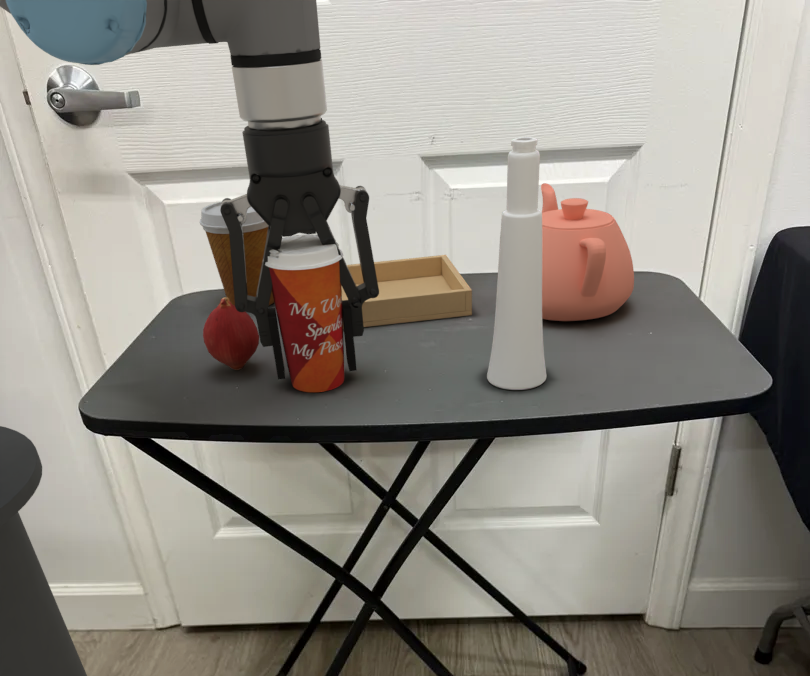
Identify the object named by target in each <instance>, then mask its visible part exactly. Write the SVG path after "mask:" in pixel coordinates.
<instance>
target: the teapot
mask: <svg viewBox="0 0 810 676" xmlns="http://www.w3.org/2000/svg"><path fill="white" fill-rule="evenodd" d="M540 191H541V195H542V208H541V209H542V210H541V211H542V320H545V321H546V320H548V321H557V322H558V321H559V322H575V321H577V322H578V321H587V320H593V319H599V318H604V317H607V316H609V315H612V314H614V313H615V312H616V311H618V310H619V309H620V308H621V307H622V306H623V305H624V304H625V303H626V302H627V300H629V298H630V297H631V296H632V294H633V291H634V287H635V271H634V264H633V258H632V254H631V251H630V248H629V245H628V242H627V241H626V240H627V239H625V236H624V234H623V232H622V230H621V227H620V225H619V224H618V222H617V220H616V219H615V217H614V216H613V215H612V214H610V213H608V212H606V211H603V210H599V209H593V208H588V205H589V200H588V199H585V198H579V197H570V198H564V199H563V200H561V201H560V207H561V208H560V209H559V205H558V200H557V195H556V190H555V189H554V188H553V186H552V185H551V184H549V183H547V182H546V183H545V182H544V183H541V185H540Z"/></svg>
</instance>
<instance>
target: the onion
mask: <svg viewBox="0 0 810 676" xmlns="http://www.w3.org/2000/svg"><path fill="white" fill-rule="evenodd" d="M202 338H203V343H204V345H205V347H206V349H207V352H208V353H209V355H211V357H212V358H213V359H215V360H216V361H218V362H219V363H221V364H223V365H224V366H227V367H229V368H230V369H232V370H234V371H239V370H241V369H243V368H244V367H245V365H246V364H247V363H248V362H249V360H250V359H251V358H252V357H253V356H254V354H255V353H256V352H257V350H258V347H259V345H260V336H259V331H258V326H257V324H256V323H255V321H254V319H253V318H252V316H251V315H250V314H249V313H248V312H239V311H237V310H236V308H235V305H233V304H232V303H231V302H230V301H229V298H227V297H226V296H225V297H222V298H221V299H220V301H219V303H218V305H217V307H215V308H214V309H213V310H212V311H210V314H209V315H208V317H207V319H206V321H205V322H204V325H203V329H202Z"/></svg>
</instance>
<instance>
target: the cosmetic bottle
mask: <svg viewBox="0 0 810 676" xmlns="http://www.w3.org/2000/svg"><path fill="white" fill-rule="evenodd" d="M510 142H511V143H510V146H511V147H512V149H511V150H510V151H509V152H508V154H507V169H506V170H507V172H506V173H507V174H506V209H505V210H503V211H502V212H501V219H500V220H501V221H500V233H499V234H500V235H499V246H498V247H499V249H498V261H497V262H498V265H497V282H496V297H495V314H494V325H493V335H492V344H491V350H490V357H489V364H488V369H487V374H486V379H487V381H488V383H490V384H491V385H492V386H494V387H496V388H499V389H502V390H510V391H523V390H530V389H534V388H536V387H539V386H541V385H542V384H543V383H545V382H546V380H547V377H548V376H547V367H546V361H545V351H544V333H543V319H542V210H541V209H539V208H538V207H539V187H540V185H539V184H540V163H541V154H540V151H539V150H538V149H536V146H537V145H538V138H536V137H533V136H520V137H514V138H513V139H511V140H510Z"/></svg>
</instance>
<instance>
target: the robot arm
mask: <svg viewBox="0 0 810 676" xmlns="http://www.w3.org/2000/svg"><path fill="white" fill-rule="evenodd" d="M0 8H2V9H3V10H4V11H6V12H7V13H9V14H10V15H11V16H12V18H13V19H14V21H15V22H16V24H17V25H18V28H20V30H21V31H22V32H23V34H25V36H26V37H27V38H28V39H29V40H30V41H31V42H32V43H33V44H34V45H35V47H37V48H39V49H40V50H42V51H43V52H45V53H46V54H48V55H50V56H51V57H53V58H56V59H58V60H61V61H64V62H67V63H73V64H79V65H86V66H100V65H104V64H108V63H112V62H115V61H118V60H119V59H121V58H124V57H125V56H128V55H132V54H138V53H140V52H145V51H149V50H152V49H159V48H171V47H181V46H192V45H193V46H194V45H202V44H203V45H204V44H209V45H212V44H213V45H214V44H219V43H227V46H228V50H229V54H230V64H231V71H232V76H233V82H234V83H233V84H234V89H235V95H236V96H235V97H236V101H237V108H238V115H239V118H240V119H241V120H242V121H244V122H247V125H246V126H244V128H243V129H244V130H243V131H242V138H243V139H242V140H243V144H244V150H245V151H244V152H245V158H246V164H247V171H248V176H249V183H248V187H247V190H246V193H245V194H242V195H240V196H237V197H233V198H229V197H225V198H224V199H222V201H221V202H222V203H221V209H220V211H221V214H222V217H223V219H224V221H225V224H226V226H227V228H228V231H229V238H230V250H231V263H232V275H233V287H234V300H235V308H236V310H237V311H239V312H246V313H248V314H252V315H253V316H254V317H255V320H256V326H257V330H258V334H259V343H260V344H261V345H262V348H267V347H272V351H273V358H274V363H275V369H276V375H277V376H276V377H277V381H278V380H286V370H285V362H284V356H283V350H282V344H281V343H282V342H281V335H280V328H279V323H278V318H277V313H276V308H275V307H269V306H270V305H269V302H270V296H271V291H272V286H273V285H272V280H271V275H270V270H269V267H268V266H266V265H265V263H266V262H268V256H270V254H271V253H270V252H269V251H270V250H272V249H274V250H276V251H279V250H278V249H280V246H281V241H282V238H283V237H288V236H294V235H299V234H302V235H306V234H310V235H318V237H319V239H320V241H321V243H322V245H330V244H335V245H336V246H337V244H336V242H337V241H336V242H335V240H336V238H335V236H334V234H333V232H332V230H331V227H330V225H329V222H328V220H329V217H330V216H331V214H332V212H333V211H334V208H335V206H336V205H337V203H338V201H339V199H340V200H342V202H343V204H344V208H345V211H347V212H348V213H349V214H351V223H352V228H353V233H354V239H355V243H356V249H357V255H358V259H359V264H360V266H361V271H362V276H363V282H364V283H363V284H361V285H359V286H356V284H355V282H354V280H353V278H352V275H351V273H350V271H349V269H348V267H347V265H348V264H347V263H346V261H345V260H346V259H345V258H344V257H343V258H342V259H341V260H339V270H340V283H341V285H342V287H343V290H344V292H345V294H346V296H347V298H348V300H342V314H343V327H344V329H343V338H344V345H345V346H344V347H345V354H346V355H345V356H346V362H347V367H348V370H349V372H355V371H358V369H357V359H356V349H355V348H356V347H355V339H354V338H355V337H363V334H364V332H365V327H364V326H363V315H362V305H363V303H364V302H365V301H366V300H368V299H370V298H376V297H377V296H378V295H379V288H378V282H377V276H376V271H375V265H374V262H375V260H374V254H373V249H372V243H371V237H370V231H369V224H368V221H367V220H368V219H367V216H368V209H369V203H370V195H369V193H368V191H367V189H366V187H365V186H362V185H357V186H356V187H353V186H346V185H341V184H340V182H339V180H338V179H337V178H336V176H335V173H334V166H333V155H332V147H331V145H332V144H331V137H330V126H329V124H328V123H327V121H325V120H324V119H323V117H322V116H323V115H325V114H326V113H327V111H328V106H327V105H328V104H327V98H326V97H327V96H326V85H325V77H324V75H325V74H324V65H323V59H322V51H321V39H320V37H321V36H320V28H319V15H318V14H319V13H318V5H317V0H0ZM250 207H252V208H253V209H254V210H255V211H256V212H257V214H258V215H259V216H260V217H261V218H262V219H263V220H264V221H265V222H266V223H267V225H268V232H267V239H266V244H265V250H264V255H263V258H264V261H262V266H261V272H260V277H259V283H258V288H257V293H256V297H253V296H249V295H248V292H247V278H246V264H245V250H244V236H243V226H242V224H243V223H245V222H246V220H247V210H248V208H250ZM339 249H340V248H339ZM339 249H338V246H337V250H338V254H339V255H341V253H340V250H341V249H340V250H339ZM341 256H342V255H341Z"/></svg>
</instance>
